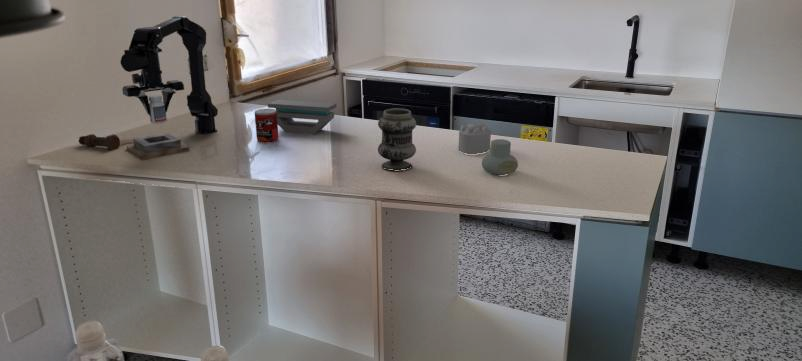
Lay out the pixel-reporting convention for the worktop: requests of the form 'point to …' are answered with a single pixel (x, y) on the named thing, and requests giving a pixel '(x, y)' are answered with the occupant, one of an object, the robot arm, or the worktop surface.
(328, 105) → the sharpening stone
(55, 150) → the worktop surface
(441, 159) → the worktop surface
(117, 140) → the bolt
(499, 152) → the air freshener
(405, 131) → the apothecary jar
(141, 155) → the collar board
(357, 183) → the worktop surface
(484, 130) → the lumpy-topped squat cylinder
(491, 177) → the worktop surface
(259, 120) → the canned food
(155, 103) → the pill bottle
